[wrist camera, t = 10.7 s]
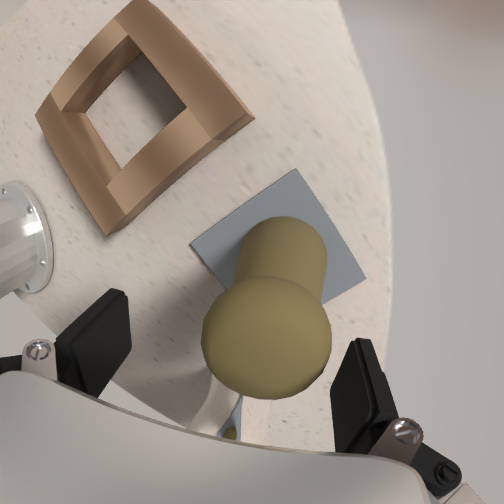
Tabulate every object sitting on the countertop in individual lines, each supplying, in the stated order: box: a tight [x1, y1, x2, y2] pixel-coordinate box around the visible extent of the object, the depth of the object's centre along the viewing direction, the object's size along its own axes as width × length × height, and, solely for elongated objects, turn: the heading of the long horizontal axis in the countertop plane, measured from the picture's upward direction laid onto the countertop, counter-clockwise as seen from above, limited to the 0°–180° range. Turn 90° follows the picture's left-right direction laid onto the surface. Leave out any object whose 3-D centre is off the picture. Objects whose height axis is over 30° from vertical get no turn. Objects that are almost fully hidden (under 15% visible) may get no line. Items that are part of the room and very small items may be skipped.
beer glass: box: [186, 373, 273, 446], centre depth 18 cm, size 7×7×15 cm
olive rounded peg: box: [201, 216, 332, 400], centre depth 15 cm, size 6×6×11 cm
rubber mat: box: [191, 169, 366, 305], centre depth 20 cm, size 9×9×1 cm
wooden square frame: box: [35, 0, 255, 236], centre depth 17 cm, size 13×13×3 cm
